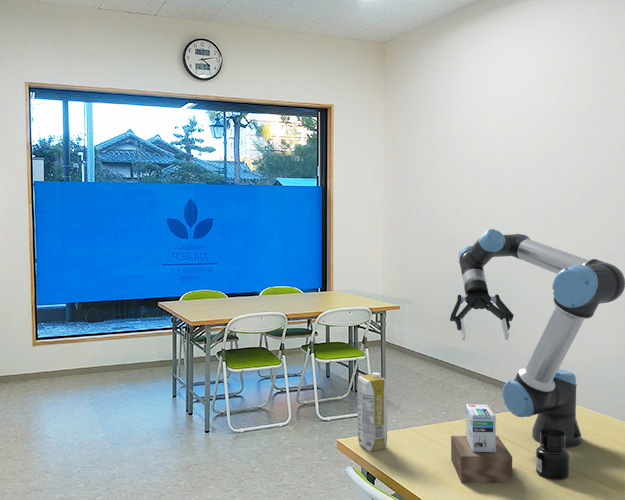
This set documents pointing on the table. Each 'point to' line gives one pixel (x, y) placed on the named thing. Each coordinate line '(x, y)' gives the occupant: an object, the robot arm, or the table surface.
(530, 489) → the table surface
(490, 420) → the light bulb box
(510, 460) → the walnut block
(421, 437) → the table surface
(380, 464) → the table surface
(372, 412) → the juice carton
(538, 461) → the ink bottle
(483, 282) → the robot arm
